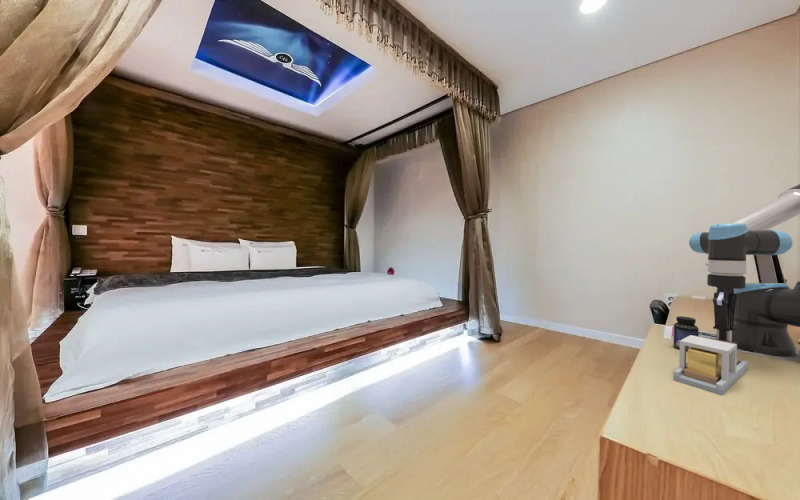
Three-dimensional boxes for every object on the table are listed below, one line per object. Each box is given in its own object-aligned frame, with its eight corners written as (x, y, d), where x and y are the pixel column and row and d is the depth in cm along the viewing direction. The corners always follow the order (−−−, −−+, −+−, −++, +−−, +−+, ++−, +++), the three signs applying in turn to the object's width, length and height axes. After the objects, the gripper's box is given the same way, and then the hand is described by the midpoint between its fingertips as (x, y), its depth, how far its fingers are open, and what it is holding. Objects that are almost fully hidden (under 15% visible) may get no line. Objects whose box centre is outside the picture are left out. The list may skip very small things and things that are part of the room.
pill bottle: (703, 353, 93) (704, 320, 93) (682, 351, 94) (682, 319, 94) (688, 346, 99) (689, 316, 99) (668, 345, 100) (669, 315, 100)
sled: (708, 358, 86) (709, 335, 86) (738, 365, 81) (739, 341, 81) (683, 375, 75) (684, 349, 75) (716, 384, 70) (717, 357, 70)
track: (704, 358, 88) (705, 327, 88) (748, 369, 81) (748, 335, 81) (673, 379, 75) (673, 343, 75) (721, 395, 67) (722, 354, 67)
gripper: (714, 272, 90) (712, 343, 91) (701, 274, 84) (698, 350, 84) (750, 274, 84) (748, 351, 84) (739, 276, 77) (736, 359, 78)
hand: (723, 350), depth 84 cm, fingers closed
